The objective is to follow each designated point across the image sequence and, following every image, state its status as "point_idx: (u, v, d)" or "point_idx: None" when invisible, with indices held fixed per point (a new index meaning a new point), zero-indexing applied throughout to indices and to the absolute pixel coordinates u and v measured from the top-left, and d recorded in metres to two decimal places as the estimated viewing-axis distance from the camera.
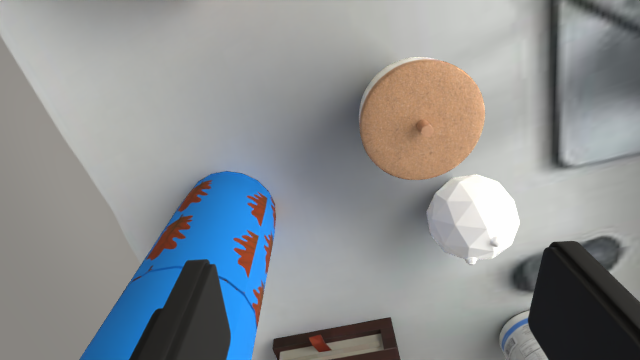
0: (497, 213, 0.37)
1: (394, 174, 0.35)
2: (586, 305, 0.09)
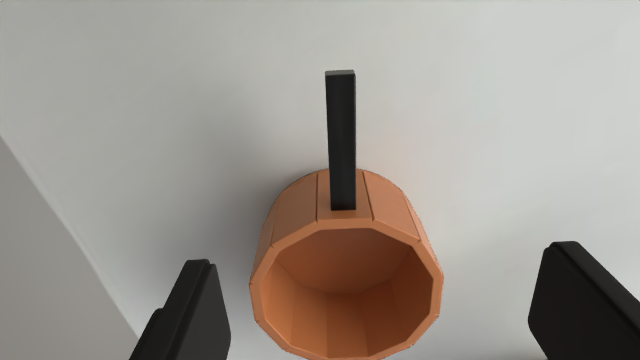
0: None
1: None
2: (586, 305, 0.09)
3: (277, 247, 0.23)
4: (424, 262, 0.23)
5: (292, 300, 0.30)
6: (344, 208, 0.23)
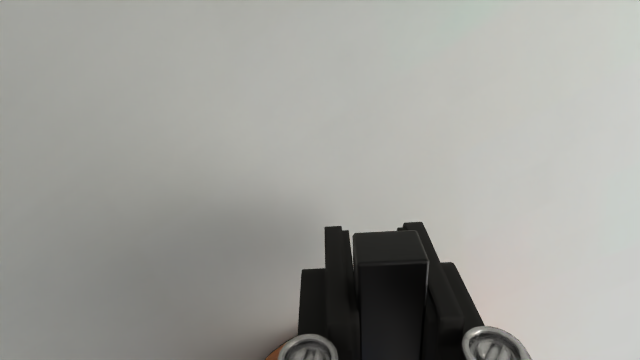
0: None
1: None
2: None
3: None
4: None
5: None
6: None
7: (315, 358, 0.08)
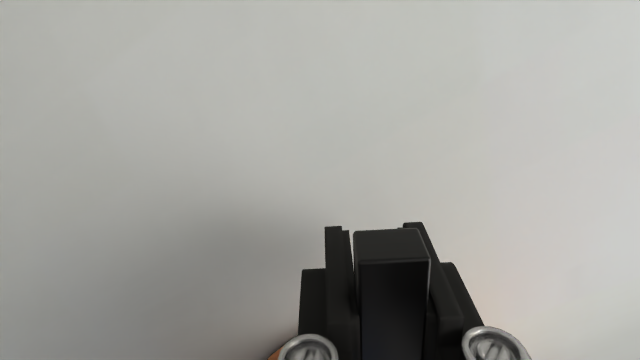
0: None
1: None
2: None
3: None
4: None
5: None
6: None
7: (315, 358, 0.08)
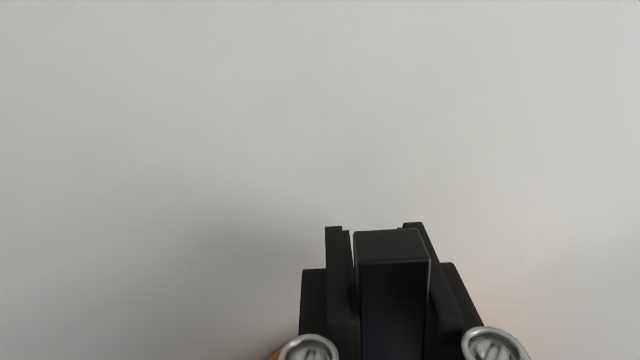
0: None
1: None
2: None
3: None
4: None
5: None
6: None
7: (316, 358, 0.08)
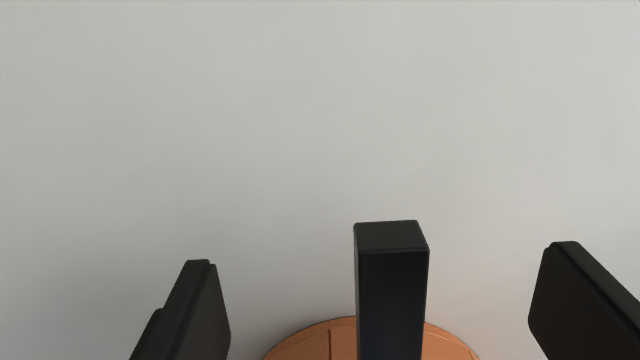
0: None
1: None
2: (586, 305, 0.09)
3: None
4: None
5: None
6: None
7: None
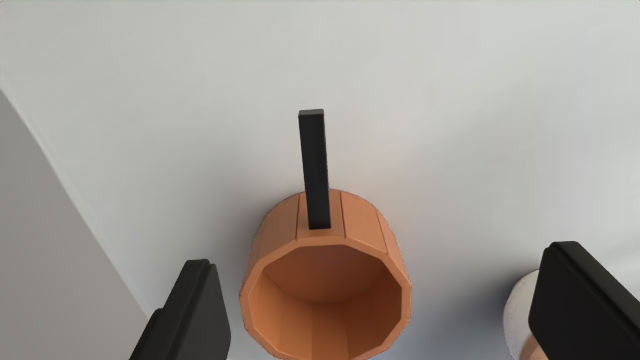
0: None
1: None
2: (586, 305, 0.09)
3: (262, 263, 0.26)
4: (393, 273, 0.26)
5: (280, 310, 0.33)
6: (320, 227, 0.26)
7: None
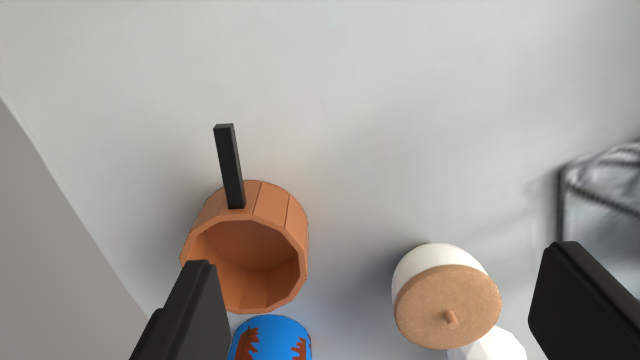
0: None
1: (423, 346, 0.41)
2: (586, 305, 0.09)
3: (194, 233, 0.36)
4: (289, 241, 0.36)
5: (219, 272, 0.43)
6: (236, 207, 0.36)
7: None
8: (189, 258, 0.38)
